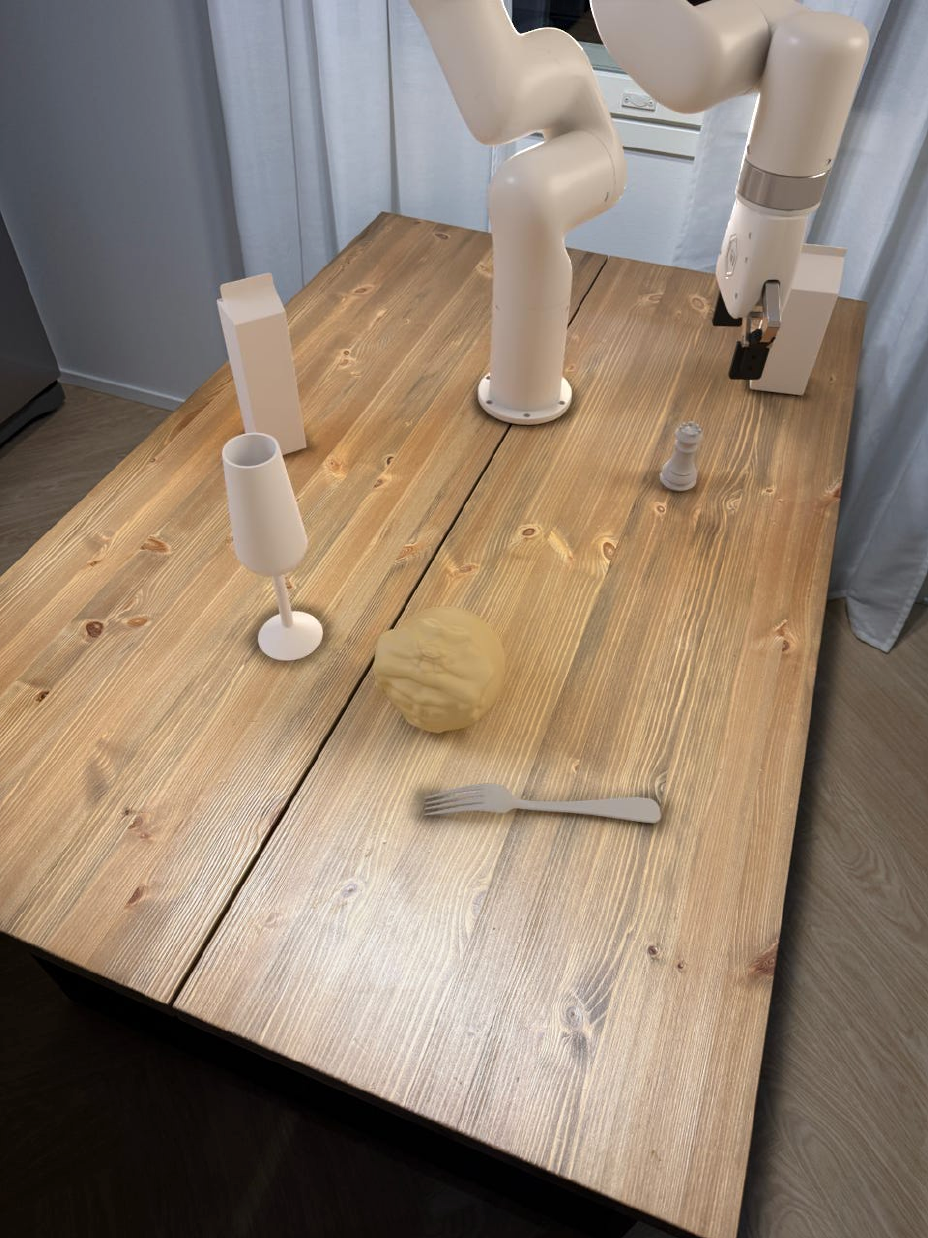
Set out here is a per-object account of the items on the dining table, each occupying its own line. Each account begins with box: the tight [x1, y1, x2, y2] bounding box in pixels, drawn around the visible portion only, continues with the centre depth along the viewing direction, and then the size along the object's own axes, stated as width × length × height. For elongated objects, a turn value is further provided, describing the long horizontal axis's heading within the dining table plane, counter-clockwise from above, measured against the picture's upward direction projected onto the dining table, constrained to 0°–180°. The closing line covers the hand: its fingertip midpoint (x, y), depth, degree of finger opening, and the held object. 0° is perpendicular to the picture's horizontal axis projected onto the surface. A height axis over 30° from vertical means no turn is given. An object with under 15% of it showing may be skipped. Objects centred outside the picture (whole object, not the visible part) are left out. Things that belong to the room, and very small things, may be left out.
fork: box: [423, 782, 662, 824], centre depth 79 cm, size 3×21×3 cm, turn 89°
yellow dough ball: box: [372, 605, 507, 734], centre depth 83 cm, size 12×12×11 cm
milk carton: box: [749, 242, 848, 396], centre depth 116 cm, size 7×7×19 cm
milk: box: [216, 272, 307, 456], centre depth 105 cm, size 6×6×22 cm
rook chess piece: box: [659, 420, 704, 493], centre depth 106 cm, size 4×4×8 cm
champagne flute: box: [221, 433, 324, 661], centre depth 83 cm, size 7×7×24 cm
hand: (734, 350), depth 92 cm, fingers open, 9 cm apart
